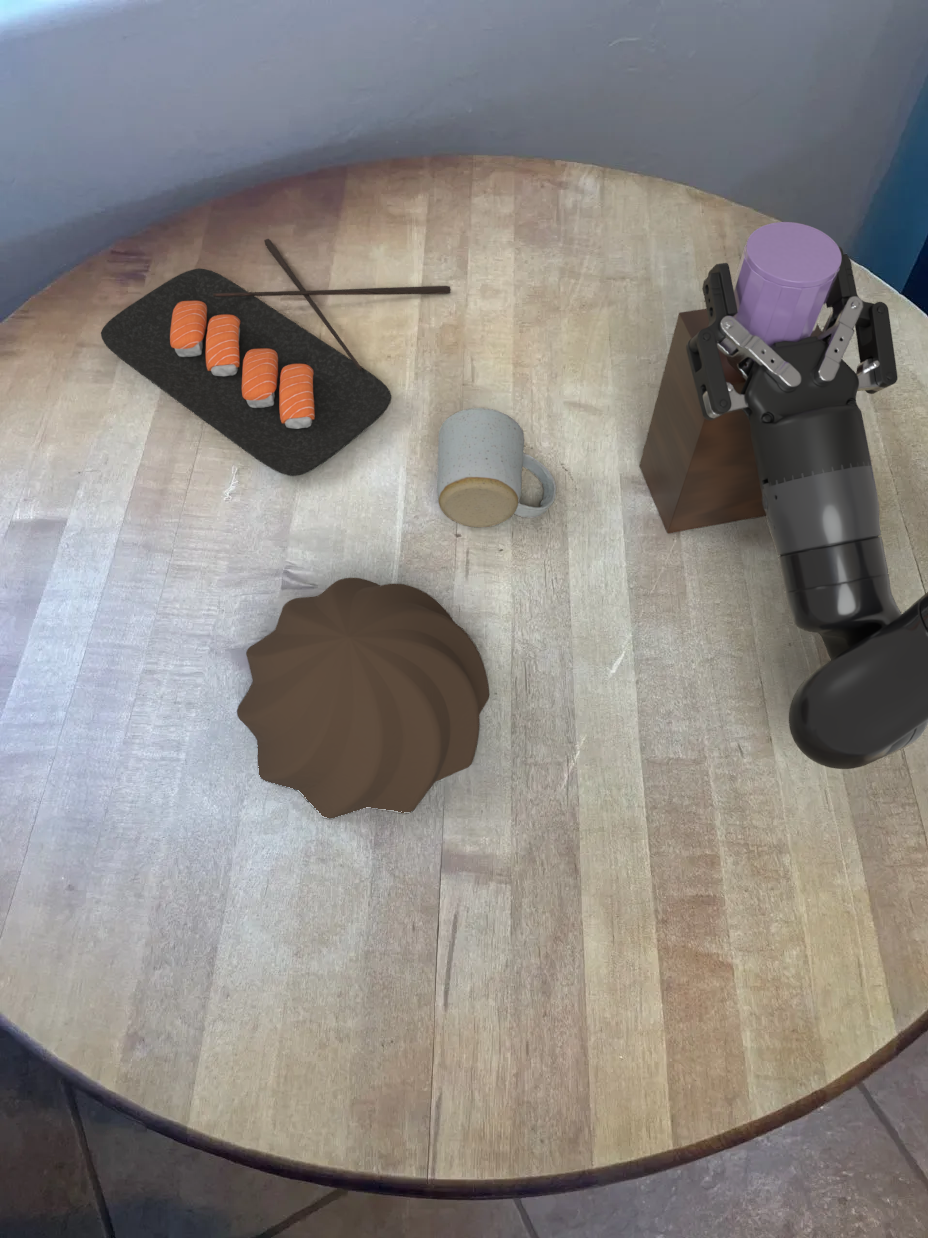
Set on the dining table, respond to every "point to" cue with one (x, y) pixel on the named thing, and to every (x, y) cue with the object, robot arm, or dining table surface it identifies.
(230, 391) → the sushi plate
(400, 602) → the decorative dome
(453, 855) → the dining table surface
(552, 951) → the dining table surface
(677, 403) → the block
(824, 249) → the tumbler
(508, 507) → the ceramic mug
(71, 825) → the dining table surface
